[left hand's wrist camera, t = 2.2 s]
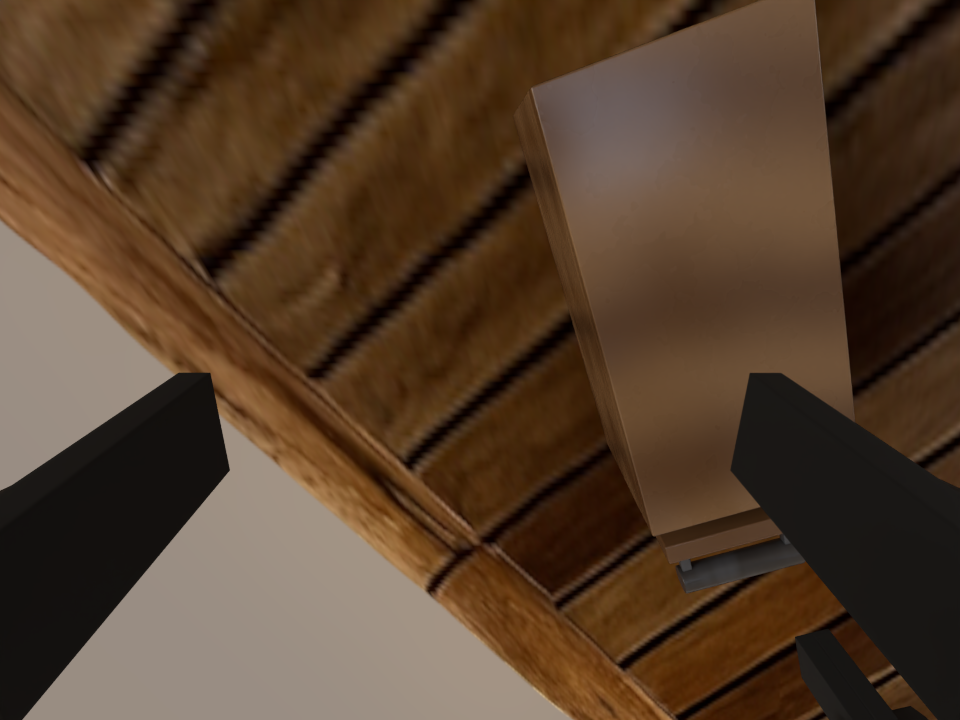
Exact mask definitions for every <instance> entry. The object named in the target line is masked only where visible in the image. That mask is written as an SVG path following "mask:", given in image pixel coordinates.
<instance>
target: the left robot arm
mask: <svg viewBox="0 0 960 720" xmlns="http://www.w3.org/2000/svg"><path fill="white" fill-rule="evenodd" d="M229 471H230V469H229V464H228V459H227V454H226V449H225V444H224V439H223V434H222V429H221V424H220V419H219V414H218V409H217V404H216V399H215V394H214V389H213V384H212V379H211V374H210V373H178V374H176V375H175V376H173V377H172V378H170V379H169V380H167V381H166V382H164V383H163V384H161V385H160V386H159V387H157V388H156V389H154V390H153V391H151V392H150V393H148V394H147V395H145V396H144V397H142V398H141V399H139V400H138V401H136V402H135V403H133V404H132V405H130V406H129V407H127V408H126V409H124V410H123V411H121V412H120V413H118V414H117V415H116V416H114V417H112V418H111V419H109V420H108V421H107V422H105V423H104V424H102V425H101V426H99V427H98V428H96V429H95V430H93V431H92V432H90V433H89V434H87V435H86V436H84V437H83V438H81V439H80V440H78V441H77V442H75V443H74V444H72V445H71V446H69V447H68V448H66V449H65V450H63V451H62V452H61V453H59V454H58V455H56V456H55V457H53V458H52V459H50V460H49V461H47V462H46V463H44V464H43V465H41V466H40V467H38V468H37V469H35V470H34V471H32V472H31V473H29V474H28V475H26V476H25V477H23V478H22V479H21V480H19V481H18V482H16V483H15V484H13V485H12V486H9V487H7V488H5V489H3V490H1V491H0V720H22V719H23V718H24V717H25V716H26V715H27V713H28V712H29V711H30V710H31V709H32V707H33V706H34V705H35V704H36V703H37V701H38V700H39V699H40V698H41V696H42V695H43V694H44V693H45V692H46V691H47V689H48V688H49V687H50V686H51V685H52V683H53V682H54V681H55V680H56V678H57V677H58V676H59V675H60V674H61V673H62V671H63V670H64V669H65V668H66V666H67V665H68V664H69V663H70V662H71V660H72V659H73V658H74V657H75V656H76V654H77V653H78V652H79V651H80V650H81V648H82V647H83V646H84V645H85V644H86V642H87V641H88V640H89V639H90V638H91V636H92V635H93V634H94V633H95V632H96V630H97V629H98V628H99V627H100V626H101V624H102V623H103V622H104V621H105V620H106V618H107V617H108V616H109V615H110V614H111V612H112V611H113V610H114V609H115V608H116V606H117V605H118V604H119V603H120V602H121V600H122V599H123V598H124V597H125V596H126V594H127V593H128V592H129V591H130V590H131V588H132V587H133V586H134V585H135V584H136V582H137V581H138V580H139V579H140V578H141V576H142V575H143V574H144V573H145V572H146V570H147V569H148V568H149V567H150V566H151V564H152V563H153V562H154V561H155V560H156V558H157V557H158V556H159V555H160V554H161V552H162V551H163V550H164V549H165V548H166V546H167V545H168V544H169V543H170V541H171V540H172V539H173V538H174V537H175V536H176V534H177V533H178V532H179V531H180V530H181V528H182V527H183V526H184V525H185V524H186V522H187V521H188V520H189V519H190V517H191V516H192V515H193V514H194V513H195V512H196V510H197V509H198V508H199V507H200V506H201V504H202V503H203V502H204V501H205V500H206V498H207V497H208V496H209V495H210V493H211V492H212V491H213V490H214V489H215V488H216V486H217V485H218V484H219V483H220V482H221V480H222V479H223V478H224V477H225V475H226V474H227V473H228V472H229ZM730 471H731V472H732V473H733V474H734V475H735V477H736V478H737V479H738V480H739V482H740V483H741V484H742V485H743V486H744V488H745V489H746V490H747V491H748V492H749V494H750V495H751V496H752V497H753V498H754V500H755V501H756V502H757V503H758V504H759V506H760V507H761V508H762V509H763V510H764V512H765V513H766V514H767V515H768V516H769V518H770V519H771V520H772V521H773V522H774V524H775V525H776V526H777V527H778V528H779V530H780V531H781V532H782V533H783V534H784V536H785V537H786V538H787V539H788V540H789V542H790V543H791V544H792V545H793V546H794V548H795V549H796V550H797V551H798V552H799V554H800V555H801V556H802V557H803V558H804V560H805V561H806V562H807V563H808V564H809V566H810V567H811V568H812V569H813V570H814V572H815V573H816V574H817V575H818V576H819V578H820V579H821V580H822V581H823V582H824V584H825V585H826V586H827V587H828V588H829V590H830V591H831V592H832V593H833V594H834V596H835V597H836V598H837V599H838V600H839V602H840V603H841V604H842V605H843V606H844V608H845V609H846V610H847V611H848V612H849V614H850V615H851V616H852V617H853V618H854V620H855V621H856V622H857V623H858V624H859V626H860V627H861V628H862V629H863V630H864V632H865V633H866V634H867V635H868V636H869V638H870V639H871V640H872V641H873V642H874V644H875V645H876V646H877V647H878V648H879V650H880V651H881V652H882V653H883V654H884V656H885V657H886V658H887V659H888V660H889V662H890V663H891V664H892V665H893V667H894V668H895V669H896V670H897V671H898V673H899V674H900V675H901V676H902V677H903V679H904V680H905V681H906V682H907V683H908V685H909V686H910V687H911V688H912V689H913V691H914V692H915V693H916V694H917V695H918V697H919V698H920V699H921V700H922V701H923V703H924V704H925V705H926V706H927V707H928V709H929V710H930V711H931V712H932V713H933V715H934V716H935V717H936V718H937V719H938V720H960V488H958V487H956V486H953V485H951V484H949V483H947V482H945V481H942V480H940V479H938V478H937V477H935V476H934V475H932V474H931V473H929V472H928V471H926V470H925V469H923V468H922V467H920V466H919V465H917V464H916V463H914V462H913V461H911V460H910V459H908V458H907V457H905V456H904V455H902V454H901V453H899V452H898V451H897V450H895V449H894V448H892V447H891V446H889V445H888V444H886V443H885V442H883V441H882V440H880V439H879V438H877V437H876V436H874V435H873V434H871V433H870V432H868V431H867V430H865V429H864V428H862V427H861V426H859V425H858V424H856V423H855V422H853V421H852V420H851V419H849V418H848V417H846V416H845V415H843V414H842V413H840V412H839V411H837V410H836V409H834V408H833V407H831V406H830V405H828V404H827V403H825V402H824V401H822V400H821V399H819V398H818V397H816V396H815V395H813V394H812V393H810V392H809V391H807V390H806V389H805V388H803V387H802V386H800V385H799V384H797V383H796V382H794V381H793V380H791V379H790V378H788V377H787V376H785V375H784V374H782V373H750V374H749V379H748V384H747V389H746V394H745V399H744V404H743V409H742V414H741V419H740V424H739V429H738V434H737V439H736V444H735V449H734V454H733V459H732V464H731V469H730Z"/></svg>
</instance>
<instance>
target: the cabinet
mask: <svg viewBox="0 0 960 720" xmlns="http://www.w3.org/2000/svg"><path fill="white" fill-rule="evenodd" d="M513 118H514V121H515V125H516V128H517V132H518V135H519V139H520V142H521V146H522V149H523V153H524V156H525V160H526V163H527V167H528V170H529V173H530V177H531V180H532V184H533V187H534V191H535V194H536V198H537V201H538V205H539V208H540V212H541V215H542V218H543V222H544V225H545V229H546V232H547V236H548V239H549V243H550V246H551V250H552V253H553V257H554V260H555V264H556V267H557V270H558V274H559V277H560V281H561V284H562V288H563V291H564V295H565V298H566V302H567V305H568V309H569V312H570V316H571V319H572V322H573V326H574V329H575V333H576V336H577V340H578V343H579V347H580V350H581V354H582V357H583V361H584V364H585V367H586V371H587V374H588V378H589V381H590V385H591V388H592V392H593V395H594V399H595V402H596V406H597V409H598V413H599V416H600V419H601V423H602V426H603V430H604V433H605V437H606V440H607V444H608V446H609V448H610V450H611V452H612V454H613V456H614V458H615V460H616V462H617V464H618V466H619V468H620V470H621V472H622V474H623V476H624V478H625V480H626V483H627V485H628V487H629V489H630V491H631V493H632V495H633V497H634V499H635V501H636V503H637V505H638V507H639V509H640V511H641V513H642V515H643V517H644V519H645V521H646V523H647V525H648V527H649V529H650V531H651V533H652V535H653V536H657V535H660V534H664V533H668V532H671V531H675V530H679V529H682V528H686V527H689V526H693V525H697V524H700V523H704V522H708V521H711V520H715V519H719V518H722V517H726V516H729V515H733V514H737V513H740V512H744V511H748V510H751V509H755V508H759V507H760V506H759V504H758V503H757V502H756V501H755V500H754V498H753V497H752V496H751V495H750V494H749V492H748V491H747V490H746V489H745V488H744V486H743V485H742V484H741V483H740V482H739V480H738V479H737V478H736V477H735V475H734V474H733V473H732V472H731V471H730V469H731V464H732V459H733V454H734V449H735V444H736V439H737V434H738V429H739V424H740V419H741V414H742V409H743V404H744V399H745V394H746V389H747V384H748V379H749V374H750V373H782V374H784V375H785V376H787V377H788V378H790V379H791V380H793V381H794V382H796V383H797V384H799V385H800V386H802V387H803V388H805V389H806V390H807V391H809V392H810V393H812V394H813V395H815V396H816V397H818V398H819V399H821V400H822V401H824V402H825V403H827V404H828V405H830V406H831V407H833V408H834V409H836V410H837V411H839V412H840V413H842V414H843V415H845V416H846V417H848V418H849V419H851V420H852V421H853V422H855V415H854V405H853V395H852V384H851V374H850V363H849V353H848V342H847V332H846V322H845V311H844V301H843V290H842V280H841V269H840V259H839V249H838V238H837V228H836V217H835V207H834V197H833V186H832V176H831V165H830V155H829V144H828V134H827V124H826V113H825V103H824V92H823V82H822V71H821V61H820V51H819V40H818V30H817V19H816V9H815V0H759V1H757V2H754V3H751V4H749V5H746V6H743V7H741V8H738V9H735V10H733V11H730V12H728V13H725V14H722V15H720V16H717V17H714V18H712V19H709V20H706V21H704V22H701V23H698V24H696V25H693V26H690V27H688V28H685V29H683V30H680V31H677V32H675V33H672V34H669V35H667V36H664V37H661V38H659V39H656V40H653V41H651V42H648V43H645V44H643V45H640V46H638V47H635V48H632V49H630V50H627V51H624V52H622V53H619V54H616V55H614V56H611V57H608V58H606V59H603V60H600V61H598V62H595V63H593V64H590V65H587V66H585V67H582V68H579V69H577V70H574V71H571V72H569V73H566V74H563V75H561V76H558V77H556V78H553V79H550V80H548V81H545V82H542V83H540V84H537V85H534V86H532V87H531V88H530V90H529V91H528V93H527V94H526V96H525V97H524V99H523V101H522V102H521V104H520V105H519V107H518V109H517V110H516V112H515V113H514V115H513Z"/></svg>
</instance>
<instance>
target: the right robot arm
mask: <svg viewBox="0 0 960 720" xmlns="http://www.w3.org/2000/svg"><path fill="white" fill-rule="evenodd" d="M795 640H796V646H797V652H798V658H799V663H800V669H801V675H802V678H803V680H804V681H805V683H806V685H807V686H808V688H809V689H810V691H811V692H812V694H813V695H814V697H815V698H816V700H817V702H818V703H819V705H820V706H821V708H822V709H823V711H824V712H825V714H826V715H827V717H828V718H829V720H928V719H927V718H926V717H925V716H923V715H922V714H921V713H919V712H918V711H917V710H915V709H914V708H912V707H911V706H908V707H904V708H900V709H895V710H891V709H890V708H889V706H888V705H887V704H886V702H885V701H884V700H883V699H882V697H881V696H880V695H879V693H878V692H877V691H876V690H875V688H874V687H873V686H872V684H871V683H870V682H869V681H868V679H867V678H866V677H865V675H864V674H863V673H862V672H861V670H860V669H859V668H858V666H857V665H856V664H855V663H854V661H853V660H852V659H851V657H850V656H849V655H848V654H847V652H846V651H845V650H844V648H843V647H842V646H841V645H840V643H839V642H838V641H837V639H836V638H835V637H834V636H833V634H832V633H831V632H830V630H829V629H825V630H821V631H817V632H813V633H809V634H805V635H801V636H797V637H795Z"/></svg>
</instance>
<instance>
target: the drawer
mask: <svg viewBox="0 0 960 720" xmlns="http://www.w3.org/2000/svg"><path fill="white" fill-rule="evenodd" d="M776 535H780V538H777V539H774V540H770V541H766V542H763V543H759V544H755V545H751V546H748V547H744V548H740V549H736V550H733V551H729V552H725V553H721V554H718V555H714V556H710V557H707V558H703V559H699V560H695V561H692V562H690V559H691V558H694V557H698V556H702V555H706V554H709V553H713V552H717V551H720V550H724V549H728V548H732V547H735V546H739V545H743V544H747V543H750V542H754V541H758V540H761V539H765V538H769V537H773V536H776ZM656 538H657V540H658V542H659V544H660V546H661V548H662V550H663V552H664V554H665V556H666V558H667V560H668V562H669V563H670V564H672V563H676V562H679V565H677V566H676V572H677V575H678V578H679V580H680V583H681V585H682V587H683V589H684V591H685V593H690V592H694V591H698V590H702V589H706V588H709V587H713V586H717V585H721V584H725V583H728V582H732V581H736V580H740V579H744V578H748V577H751V576H755V575H759V574H763V573H767V572H771V571H774V570H778V569H782V568H786V567H790V566H793V565H797V564H801V563H804V562H805V560H804V558H803V557H802V556H801V555H800V554H799V552H798V551H797V550H796V549H795V548H794V546H793V545H792V544H791V543H790V542H789V540H788V539H787V538H786V537H785V536H784V534H783V533H782V532H781V531H780V530H779V528H778V527H777V526H776V525H775V524H774V522H773V521H772V520H771V519H770V518H769V516H768V515H767V514H766V513H765V512H764V510H763V509H762V508H761V507H759V508H755V509H751V510H748V511H744V512H740V513H737V514H733V515H729V516H726V517H722V518H719V519H715V520H711V521H708V522H704V523H700V524H697V525H693V526H689V527H686V528H682V529H679V530H675V531H671V532H668V533H664V534H660V535H657V536H656Z"/></svg>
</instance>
